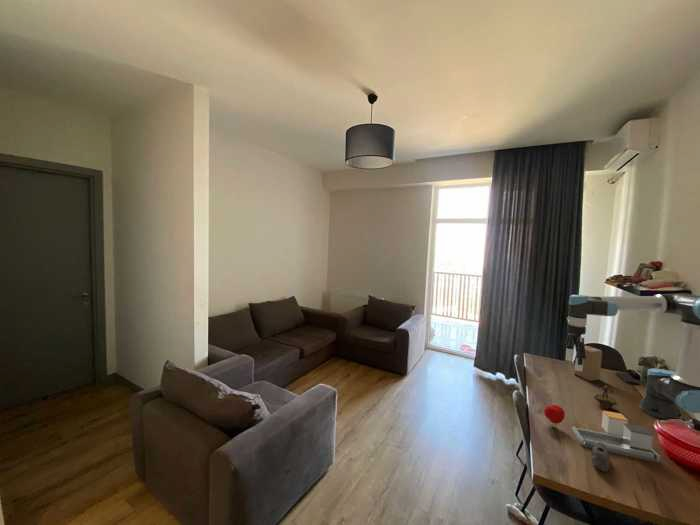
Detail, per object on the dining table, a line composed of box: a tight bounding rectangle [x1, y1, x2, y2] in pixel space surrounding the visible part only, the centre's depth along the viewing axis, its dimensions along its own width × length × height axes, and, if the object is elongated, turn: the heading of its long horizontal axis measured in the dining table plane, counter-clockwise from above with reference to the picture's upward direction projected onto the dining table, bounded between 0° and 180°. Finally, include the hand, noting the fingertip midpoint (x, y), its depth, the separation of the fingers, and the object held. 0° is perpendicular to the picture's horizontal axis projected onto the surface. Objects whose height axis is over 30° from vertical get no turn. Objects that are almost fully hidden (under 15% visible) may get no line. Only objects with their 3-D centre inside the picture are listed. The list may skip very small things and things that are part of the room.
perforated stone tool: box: [591, 442, 610, 473], centre depth 113 cm, size 15×5×7 cm, turn 137°
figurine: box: [593, 384, 619, 410], centre depth 154 cm, size 10×8×12 cm
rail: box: [571, 423, 661, 464], centre depth 123 cm, size 26×10×10 cm, turn 70°
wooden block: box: [574, 345, 603, 382], centre depth 190 cm, size 10×10×20 cm
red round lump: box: [543, 404, 566, 428], centre depth 135 cm, size 9×7×10 cm
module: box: [601, 410, 629, 437], centre depth 133 cm, size 7×6×8 cm
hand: (573, 365), depth 148 cm, fingers open, 13 cm apart
